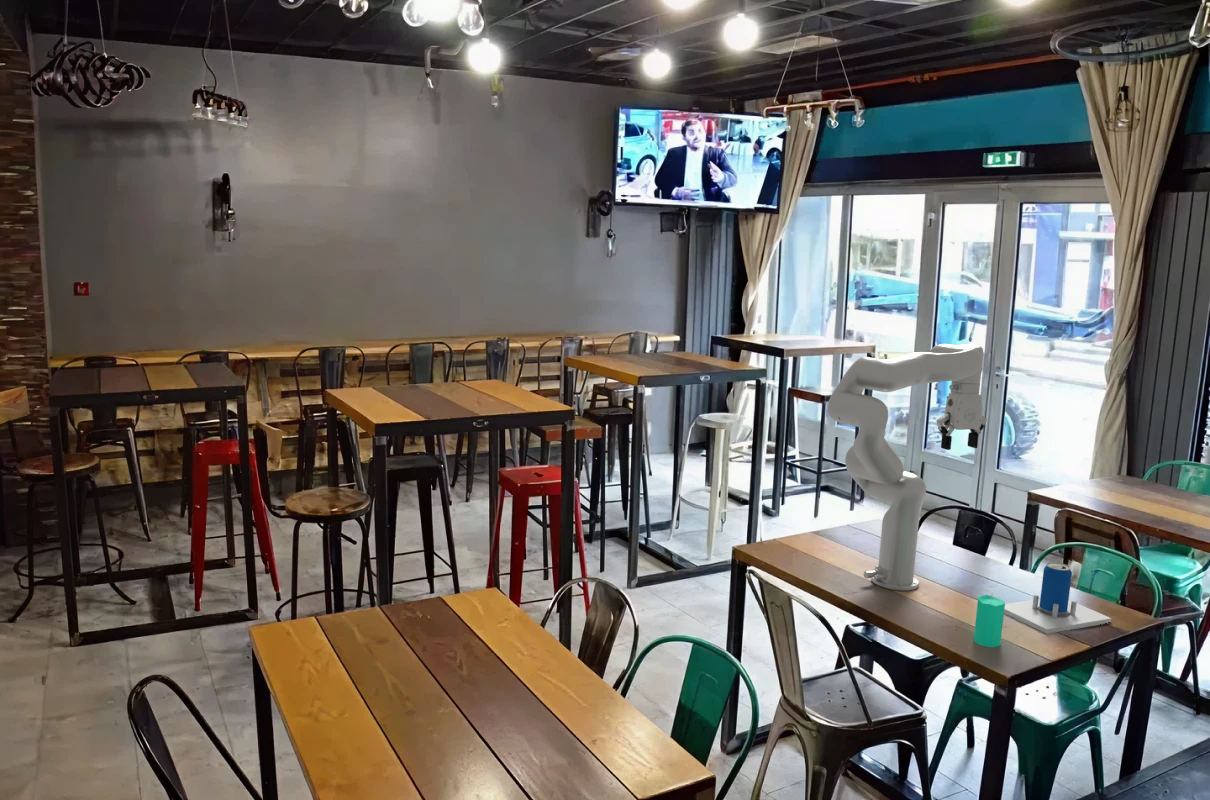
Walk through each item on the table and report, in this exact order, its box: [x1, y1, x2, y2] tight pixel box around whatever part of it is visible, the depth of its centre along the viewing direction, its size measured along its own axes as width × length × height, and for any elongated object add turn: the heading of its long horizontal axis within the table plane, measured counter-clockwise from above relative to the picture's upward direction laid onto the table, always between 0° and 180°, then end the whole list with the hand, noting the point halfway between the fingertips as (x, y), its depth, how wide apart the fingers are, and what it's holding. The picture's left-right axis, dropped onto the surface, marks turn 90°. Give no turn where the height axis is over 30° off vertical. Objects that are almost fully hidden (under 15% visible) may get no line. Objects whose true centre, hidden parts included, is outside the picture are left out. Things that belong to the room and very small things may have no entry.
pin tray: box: [1004, 594, 1112, 635], centre depth 241 cm, size 22×16×5 cm
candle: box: [973, 593, 1006, 648], centre depth 223 cm, size 6×6×12 cm
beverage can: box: [1039, 561, 1073, 615], centre depth 240 cm, size 6×6×12 cm
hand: (959, 448), depth 267 cm, fingers open, 9 cm apart
